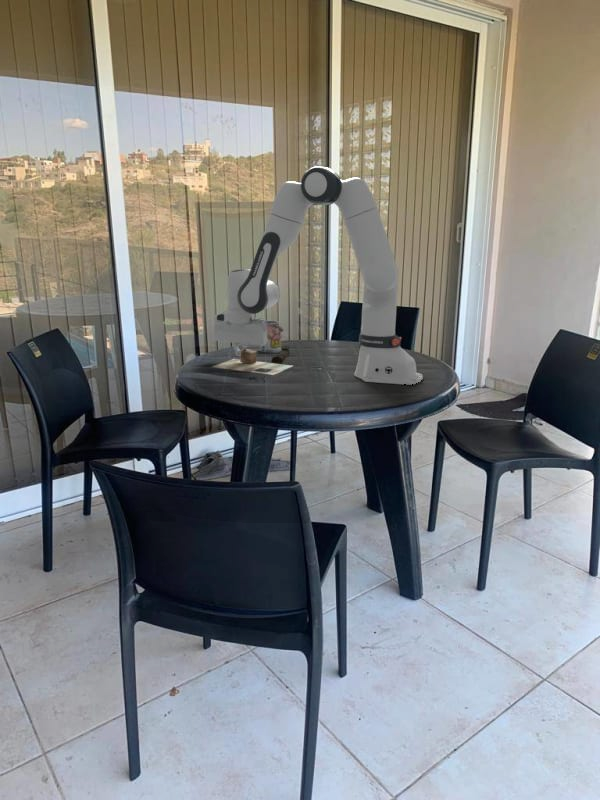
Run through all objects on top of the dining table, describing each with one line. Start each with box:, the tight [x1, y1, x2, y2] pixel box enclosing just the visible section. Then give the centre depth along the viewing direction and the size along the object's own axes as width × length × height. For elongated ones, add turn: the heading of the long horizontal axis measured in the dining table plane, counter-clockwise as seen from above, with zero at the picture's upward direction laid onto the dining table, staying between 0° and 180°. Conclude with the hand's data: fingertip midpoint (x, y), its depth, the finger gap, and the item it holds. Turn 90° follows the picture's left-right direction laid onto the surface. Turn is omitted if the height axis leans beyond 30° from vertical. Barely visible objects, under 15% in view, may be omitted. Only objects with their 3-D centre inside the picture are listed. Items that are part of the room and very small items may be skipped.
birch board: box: [211, 358, 294, 380], centre depth 198 cm, size 24×15×2 cm, turn 65°
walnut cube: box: [240, 348, 258, 364], centre depth 202 cm, size 4×4×4 cm
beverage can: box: [259, 320, 285, 354], centre depth 227 cm, size 9×8×12 cm
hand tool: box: [271, 345, 290, 364], centre depth 213 cm, size 19×4×5 cm, turn 167°
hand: (240, 355), depth 203 cm, fingers closed
